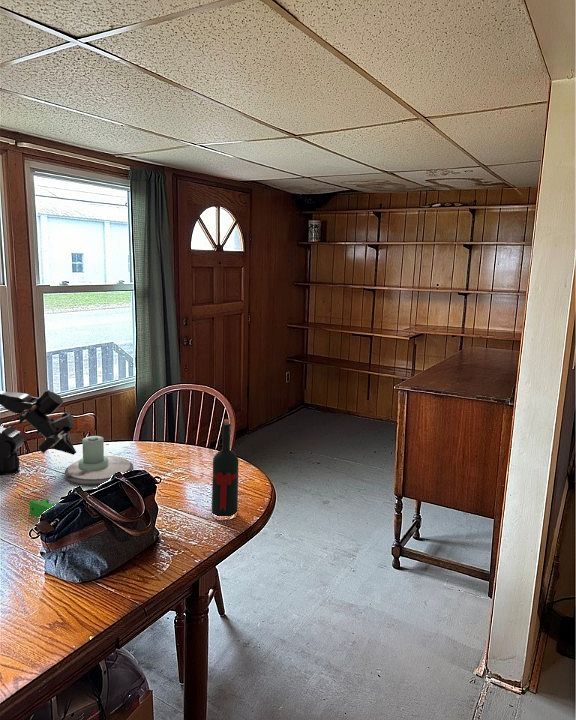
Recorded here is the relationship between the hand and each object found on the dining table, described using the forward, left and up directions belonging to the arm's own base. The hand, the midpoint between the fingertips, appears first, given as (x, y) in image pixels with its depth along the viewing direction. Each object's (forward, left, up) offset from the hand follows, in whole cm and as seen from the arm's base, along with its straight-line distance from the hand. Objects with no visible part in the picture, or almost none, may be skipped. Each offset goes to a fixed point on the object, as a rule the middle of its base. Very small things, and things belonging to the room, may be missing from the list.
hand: (75, 453), depth 182 cm
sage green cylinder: (+5, -3, -5) cm, 8 cm away
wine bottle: (+26, -58, -7) cm, 64 cm away
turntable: (+7, -5, -7) cm, 11 cm away
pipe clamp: (-17, -29, -7) cm, 35 cm away
